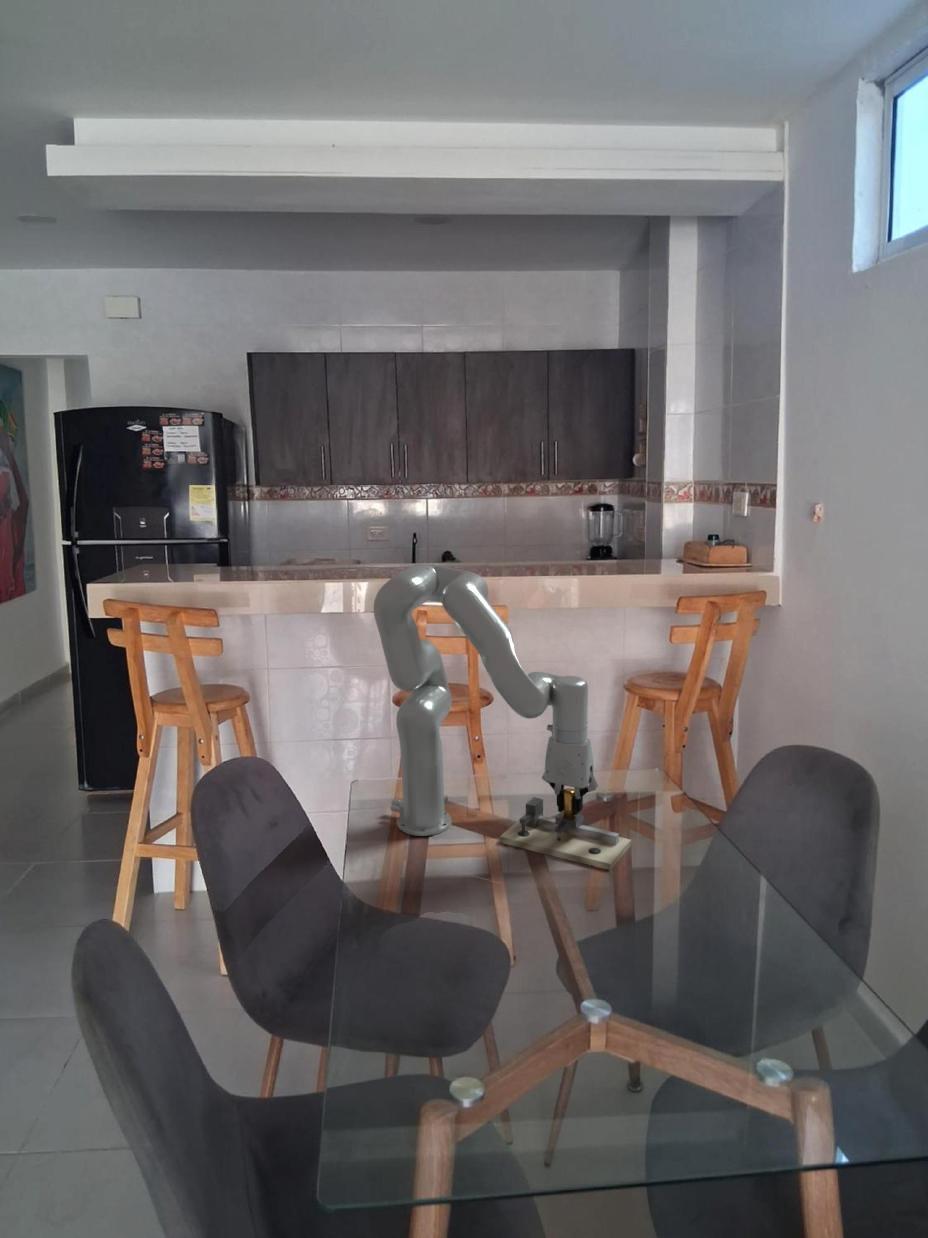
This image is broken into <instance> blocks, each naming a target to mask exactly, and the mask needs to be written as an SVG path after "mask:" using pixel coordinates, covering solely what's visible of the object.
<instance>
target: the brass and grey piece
mask: <svg viewBox="0 0 928 1238" xmlns="http://www.w3.org/2000/svg"><path fill="white" fill-rule="evenodd" d="M574 797H575V790H574V788H573V787H571V788H569V787H568V788H565V789H564V790H563V811H562V812H559V814H557V815H556V816H555V817H554V819H555V824H558V825H557V826H556V827H555V832H557V840H558V841H561V833H562V832H563V831H564V830H565V829H566V828H567V827H571V828H575V829H576V828H577V827H578V826H579V825H582V824H583V823H584V816H585V814H581V813H578V814H577V815H576V816H575V815H573V798H574Z"/></svg>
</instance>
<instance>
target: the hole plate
mask: <svg viewBox="0 0 928 1238" xmlns="http://www.w3.org/2000/svg"><path fill="white" fill-rule="evenodd" d="M557 825H558V824H555V817H554V818H553V817H550V816H549V817H548V816H544V799H543V798H540V797H534V796H533V797H532V798H530V799H529V800H528V801H527V802H526V803H525V814H524V815H523V816H521V817H520V818H519V819H518V820H517V821H516V822H515V823H513V825H512V826H510V827H509V828H508V829H507V830H506V831H504V832H503V833H502V834H501V835H500V837H499V839H500V840H499V843H500V844H505V845H508V846H512V847H516V848H519V849H525V850H528V851H532V852H536V853H540V854H544V855H548V856H551V857H556V858H559V859H563V860H568V861H571V862H575V863H579V864H582V865H587V864H588V866H591V865H593V866H592V867H594V868H599V869H603V870H606V871H607V870H608V871H611V870H612V869H613V868H614V867H615V866H616V864H618V862H619V861H620V860H621V858H622V857H623V856H624V855H625V854H626V853H627V852H628V850H629V849H630V848H631V847H632V839H629V838H626V837H625V838H624V837H620V833H618V832H614V831H611V830H606V829H601V828H598V827H592V826H588V825H584V824H580V825H579V826H578V827H577V828H576V829H575V828H571V827H567V828H566V829H565V830H564V831H563V832H562V833H561V841H558V840H557V832H555V827H556V826H557Z"/></svg>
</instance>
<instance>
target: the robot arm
mask: <svg viewBox="0 0 928 1238" xmlns="http://www.w3.org/2000/svg"><path fill="white" fill-rule="evenodd" d="M376 593H377V594H376V596H375V598H374V601H373V602H374V603H373V615H374V620H375V623H376V627H377V630H378V634H379V637H380V641H381V645H382V649H383V650H382V651H383V654H384V659H385V662H386V665H387V669H388V674H389V677H390V680H391V682H392V683H393V685H394V686H395V687H396V688H397V689H398V690H400V691H403V692H410V694H409V695H408V697H406V699H404V701H403V702H402V703H401V705H399V707H398V711H397V713H396V729H397V734H398V741H399V748H400V765H401V787H402V789H401V791H402V799H397V798H393V799H392V802H391V806H390V811H392V812H395V813H396V812H397V813H398V814H399V816H398V817H397V821H396V823H397V824H396V825H397V827H398V830H399V831H401V830H402V831H403V832H402V831H401V832H402V833H404V832H405V833H404V834H408V835H410V836H416V837H417V836H418V837H428V836H434V835H438V834H441V833H443V832H445V831H446V830H448V829H449V828H450V827H451V826H452V815H450V814H449V813H448V812H447V811H446V810H445V790H444V789H445V787H444V786H445V785H444V763H443V762H444V761H443V760H444V759H443V755H444V754H443V744H442V740H441V734H440V726H441V724H442V723H443V721H444V720H445V718H446V717H447V716H448V715H449V713H450V711H451V708H452V693H451V691H450V686H449V682H448V677H447V674H446V671H445V667H444V662H443V659H442V655H441V653H440V652H439V649H438V648H437V647H436V645H434V643H432V642H431V641H429V640H428V639H425V638H420V633H419V628H418V625H417V622H416V621H415V620H414V617H413V616H412V613H413V612H414V610H416V609H417V608H419V607H421V606H422V605H423V604H425V603H426V602H428V601H432V602H436V603H441V605H442V608H443V609H444V610H445V612H446V613H447V615H448V616H449V617H450V618H451V620H452V621H453V622H454V623H455V625H456V626H457V628H459V629H460V631H461V632H462V634H463V635H464V636H465V637H466V639H467V640H468V641H469V642H470V644H471V645H472V647H473V648H474V649H475V650H476V651H477V654H479V656H480V658H481V662H482V665H483V667H484V668H485V670H486V672H487V675H488V677H489V679H490V681H491V683H492V684H493V687H495V689H496V691H497V692H498V693H499V695H500V696H501V697H502V699H503V700H504V701H505V702H506V703H507V705H508V706H509V707H510V709H511V710H513V711H514V713H516V714H517V715H518V716H520V717H521V718H525V719H527V720H529V719H530V720H531V719H536V718H539V717H541V715H543V714H544V712H545V711H546V710H547V708H548V706H551V707H552V708H551V709H552V723H551V724H550V723H549V724H547V726H546V730H547V731H550V732H551V736H549V737H548V741H547V745H546V753H545V757H544V759H545V760H544V761H545V762H544V772H543V774H542V776H541V780H543V781H544V782H546V783H547V784H548V785H549V786H550V787H551V789H553V791H554V794H555V795H556V806H557V811H558V812H559V813H561V812H562V811H563V790H564V789H566V788H565V786H566V787H571V788H573V789H574V790H575V797H574V798H573V815H575V816H576V815H577V814H580V812H581V811H582V810H583V804H584V803H583V802H584V799H583V798H584V796H585V795H586V794H587V793H591V792H593V791H596V790H598V789H599V785H598V783H597V780H596V778H595V776H594V775H595V769H594V768H595V767H594V754H593V748H592V744H591V743H592V742H591V740H590V739H589V738H588V722H589V721H588V719H589V718H588V717H589V716H588V709H589V708H588V707H589V705H588V703H589V702H588V701H589V700H588V699H589V697H588V695H589V691H588V690H589V688H588V687H589V686H588V683H587V680H585V679H584V678H583V677H581V676H575V675H565V676H562V675H557V674H551V673H548V672H542V671H532V672H530V673H528V674H527V672H526V671H525V669H524V668H523V666H521V664H520V662H519V660H518V657H517V655H516V651H515V647H514V646H515V645H514V640H513V639H514V638H513V634H512V631H511V629H510V627H509V626H508V624H507V623H506V622H505V621H504V620H503V618H502V617H501V616H500V614H499V613H498V612H497V611H496V609H494V607H493V606H492V605H491V604H490V602H489V600H487V599H488V596H489V588H488V584H487V582H486V581H485V579H484V578H483V576H481V575H479V574H477V573H475V572H472V571H468V570H464V569H458V568H453V567H449V566H443V565H439V564H438V565H437V564H432V563H427V562H421V563H414V564H413V565H412V564H411V566H408V567H407V568H405V569H404V570H401V571H400V572H399V573H396V574H395V575H394V576H393V577H391V578H390V579H389V580H387V582H385V583H384V584H383V585H382V586H381V587H380V588H379V590H378V592H376Z"/></svg>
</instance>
